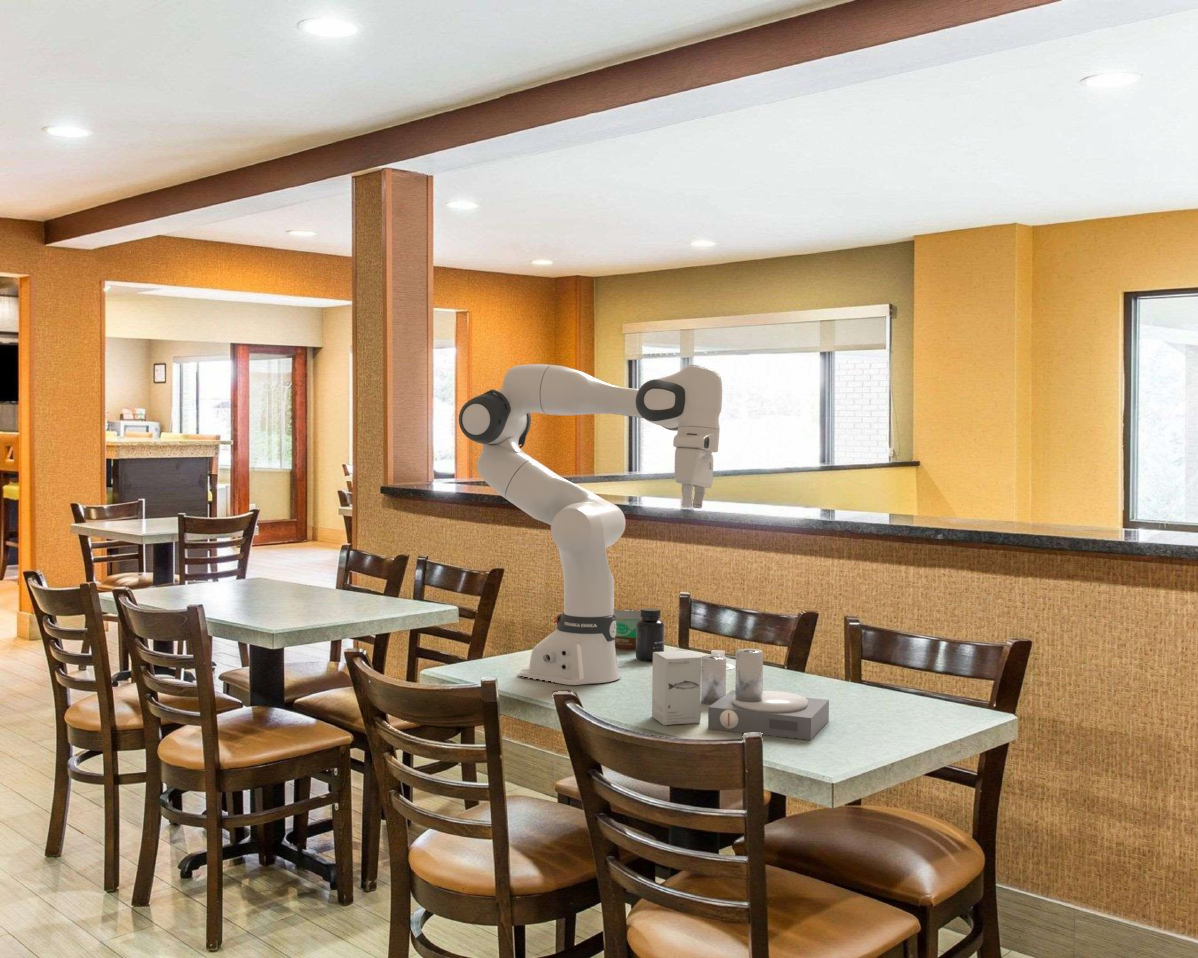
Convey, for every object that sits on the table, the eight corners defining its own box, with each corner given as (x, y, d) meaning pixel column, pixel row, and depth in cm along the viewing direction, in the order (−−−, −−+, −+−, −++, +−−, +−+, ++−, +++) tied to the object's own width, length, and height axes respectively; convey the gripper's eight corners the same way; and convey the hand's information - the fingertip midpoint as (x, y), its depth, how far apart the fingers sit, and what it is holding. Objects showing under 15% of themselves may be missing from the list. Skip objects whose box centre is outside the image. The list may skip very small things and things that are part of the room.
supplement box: (664, 726, 209) (664, 658, 209) (651, 716, 216) (651, 650, 216) (701, 723, 211) (702, 656, 211) (687, 714, 219) (688, 649, 218)
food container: (599, 649, 284) (599, 609, 284) (607, 644, 290) (607, 605, 289) (646, 652, 280) (647, 612, 280) (653, 648, 286) (654, 608, 285)
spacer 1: (697, 703, 228) (698, 658, 227) (705, 697, 232) (705, 654, 232) (721, 705, 226) (722, 660, 225) (728, 700, 230) (729, 656, 230)
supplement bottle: (661, 662, 268) (662, 612, 267) (633, 661, 269) (633, 610, 269) (666, 657, 274) (666, 607, 274) (638, 655, 276) (638, 606, 275)
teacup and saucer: (706, 663, 269) (706, 646, 269) (739, 666, 266) (739, 648, 266) (696, 670, 261) (696, 652, 261) (729, 673, 258) (729, 655, 258)
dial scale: (707, 728, 208) (707, 702, 207) (731, 710, 222) (732, 686, 221) (810, 740, 200) (810, 713, 200) (828, 720, 214) (829, 695, 214)
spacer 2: (732, 700, 209) (732, 652, 209) (739, 695, 214) (740, 647, 214) (758, 703, 207) (759, 654, 207) (765, 697, 212) (766, 649, 212)
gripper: (694, 445, 250) (688, 508, 250) (671, 437, 231) (665, 504, 230) (722, 447, 248) (717, 510, 248) (701, 439, 229) (696, 507, 228)
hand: (692, 507), depth 239 cm, fingers open, 8 cm apart
